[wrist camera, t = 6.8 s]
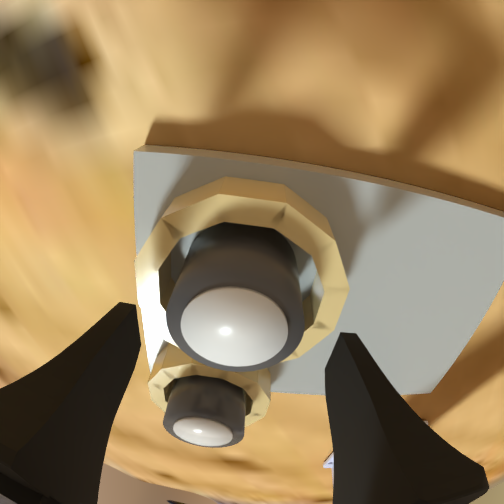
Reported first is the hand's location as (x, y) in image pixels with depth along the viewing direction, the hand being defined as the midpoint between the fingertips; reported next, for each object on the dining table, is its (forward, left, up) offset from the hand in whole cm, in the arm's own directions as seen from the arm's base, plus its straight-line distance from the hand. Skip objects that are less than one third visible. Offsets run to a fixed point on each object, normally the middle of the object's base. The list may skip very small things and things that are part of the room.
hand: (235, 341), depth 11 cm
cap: (0, 0, -4) cm, 4 cm away
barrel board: (-3, -5, -5) cm, 8 cm away
